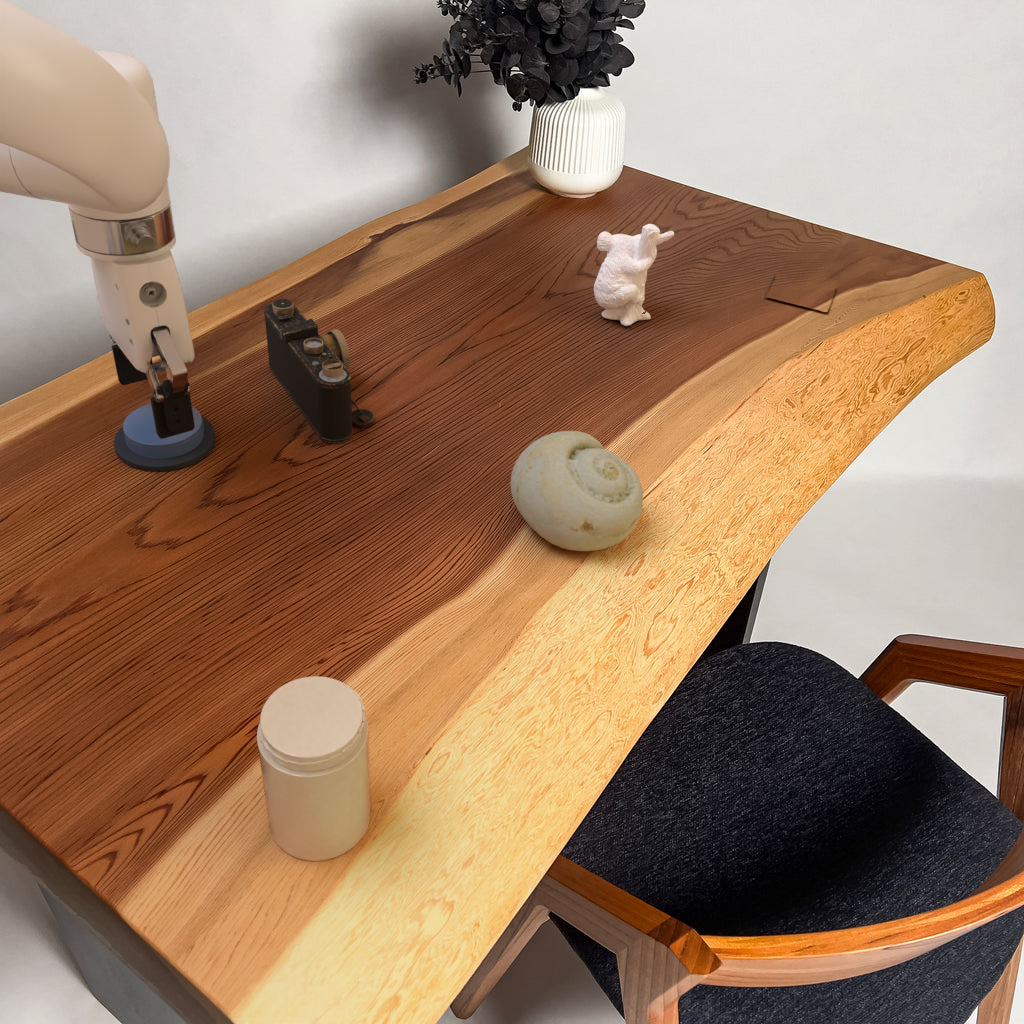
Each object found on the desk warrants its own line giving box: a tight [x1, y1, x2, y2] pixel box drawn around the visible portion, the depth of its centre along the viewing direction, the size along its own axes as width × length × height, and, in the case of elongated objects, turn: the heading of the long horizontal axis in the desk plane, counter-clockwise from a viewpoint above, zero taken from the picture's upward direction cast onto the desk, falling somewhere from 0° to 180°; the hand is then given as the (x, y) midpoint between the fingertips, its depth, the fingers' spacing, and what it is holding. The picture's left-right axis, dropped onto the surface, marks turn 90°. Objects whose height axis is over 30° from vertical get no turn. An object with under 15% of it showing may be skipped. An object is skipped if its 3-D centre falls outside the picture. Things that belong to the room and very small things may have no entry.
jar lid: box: [122, 403, 205, 459], centre depth 89 cm, size 7×7×2 cm
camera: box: [263, 298, 375, 444], centre depth 95 cm, size 16×7×8 cm, turn 31°
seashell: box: [510, 430, 644, 552], centre depth 84 cm, size 13×8×10 cm
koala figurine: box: [593, 223, 675, 327], centre depth 112 cm, size 8×7×12 cm
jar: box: [256, 675, 371, 862], centre depth 59 cm, size 6×6×10 cm
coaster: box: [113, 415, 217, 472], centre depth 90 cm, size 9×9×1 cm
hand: (156, 405), depth 87 cm, fingers open, 9 cm apart
